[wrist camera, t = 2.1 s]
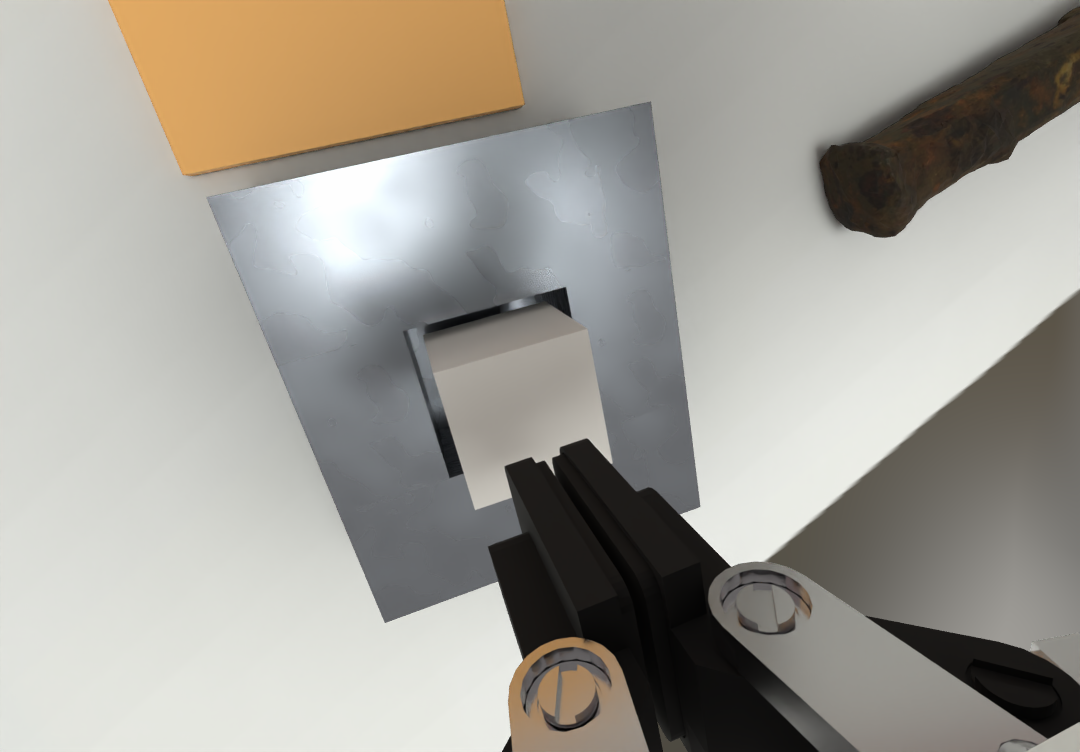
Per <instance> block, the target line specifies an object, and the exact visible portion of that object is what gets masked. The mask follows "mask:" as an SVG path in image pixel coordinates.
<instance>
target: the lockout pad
mask: <svg viewBox="0 0 1080 752" xmlns="http://www.w3.org/2000/svg"><path fill="white" fill-rule="evenodd" d="M108 1H109V4H110V6H111V8H112V11H113V13H114V15H115V18H116V20H117V22H118V25H119V27H120V29H121V32H122V34H123V36H124V39H125V41H126V43H127V46H128V48H129V50H130V53H131V55H132V57H133V60H134V62H135V64H136V67H137V69H138V71H139V74H140V76H141V78H142V81H143V83H144V85H145V88H146V90H147V92H148V95H149V97H150V99H151V102H152V104H153V106H154V109H155V111H156V113H157V116H158V118H159V120H160V123H161V125H162V127H163V130H164V132H165V134H166V137H167V139H168V141H169V144H170V146H171V148H172V151H173V153H174V155H175V158H176V160H177V162H178V165H179V167H180V169H181V172H182V174H183V175H187V176H195V175H199V174H204V173H209V172H214V171H219V170H224V169H228V168H233V167H238V166H243V165H248V164H252V163H257V162H262V161H267V160H272V159H276V158H281V157H286V156H291V155H296V154H301V153H305V152H310V151H315V150H320V149H325V148H329V147H334V146H339V145H344V144H349V143H354V142H358V141H363V140H368V139H373V138H378V137H382V136H387V135H392V134H397V133H402V132H407V131H411V130H416V129H421V128H426V127H431V126H435V125H440V124H445V123H450V122H455V121H459V120H464V119H469V118H474V117H479V116H484V115H488V114H493V113H498V112H503V111H508V110H512V109H517V108H520V107H522V106H523V105H525V103H524V98H523V93H522V88H521V83H520V78H519V73H518V68H517V63H516V58H515V53H514V48H513V43H512V38H511V33H510V28H509V23H508V18H507V13H506V8H505V3H504V0H108Z"/></svg>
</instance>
